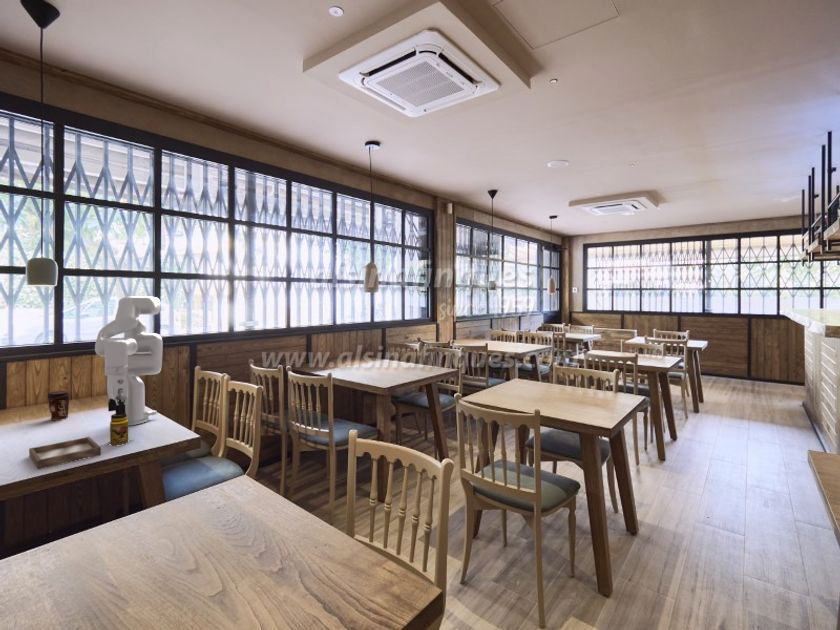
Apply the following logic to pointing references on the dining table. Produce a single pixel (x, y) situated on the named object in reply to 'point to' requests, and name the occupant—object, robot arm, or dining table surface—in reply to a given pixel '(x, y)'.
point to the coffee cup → (59, 404)
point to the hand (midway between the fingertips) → (116, 412)
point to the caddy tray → (64, 452)
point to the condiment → (118, 430)
